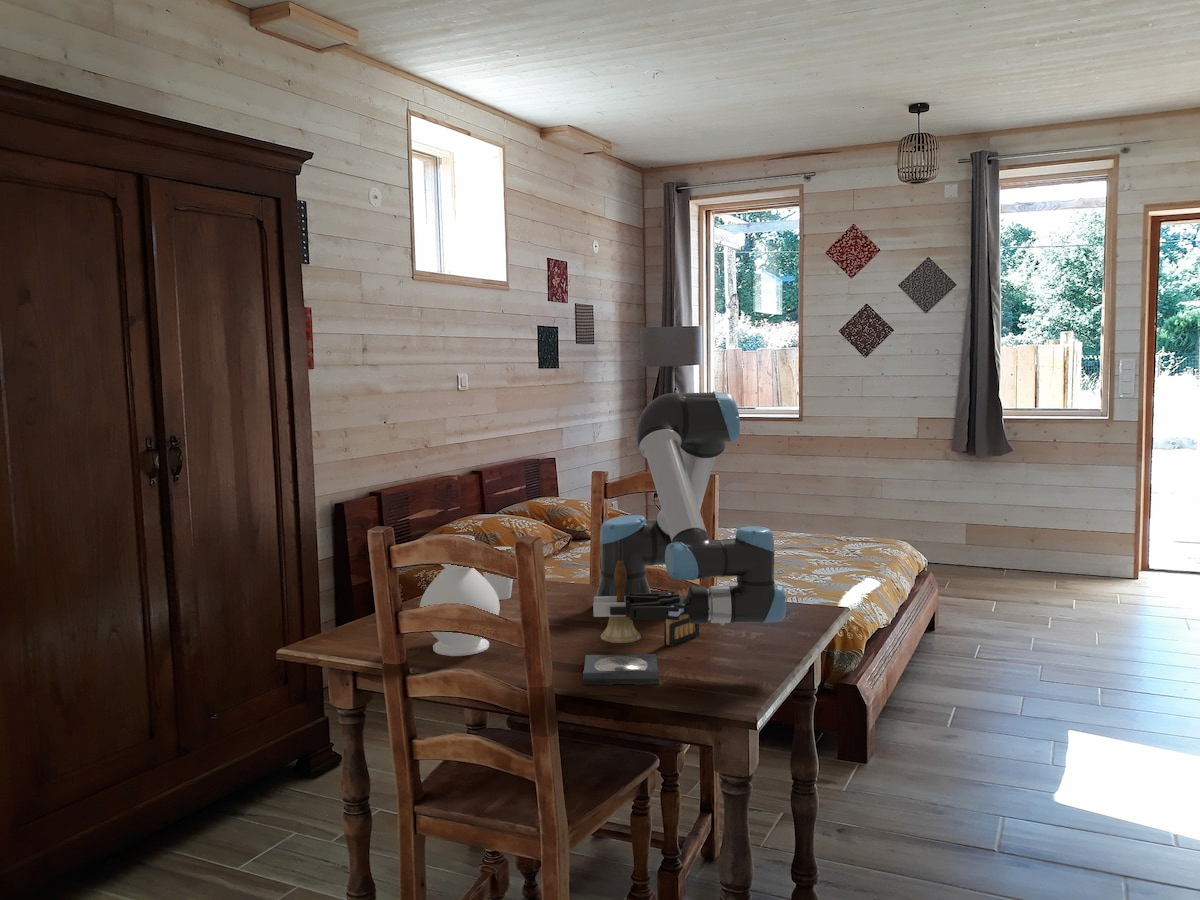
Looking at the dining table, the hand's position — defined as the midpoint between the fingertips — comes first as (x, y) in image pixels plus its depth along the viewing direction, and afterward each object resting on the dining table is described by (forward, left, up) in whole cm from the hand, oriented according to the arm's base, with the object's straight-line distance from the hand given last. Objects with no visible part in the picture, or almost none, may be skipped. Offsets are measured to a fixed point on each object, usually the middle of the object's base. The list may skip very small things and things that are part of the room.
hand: (594, 606), depth 190 cm
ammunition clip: (-21, +19, -14) cm, 32 cm away
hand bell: (0, +5, -7) cm, 9 cm away
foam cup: (-62, -28, -14) cm, 69 cm away
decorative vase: (-18, -31, -14) cm, 38 cm away
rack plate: (0, +5, -14) cm, 15 cm away
